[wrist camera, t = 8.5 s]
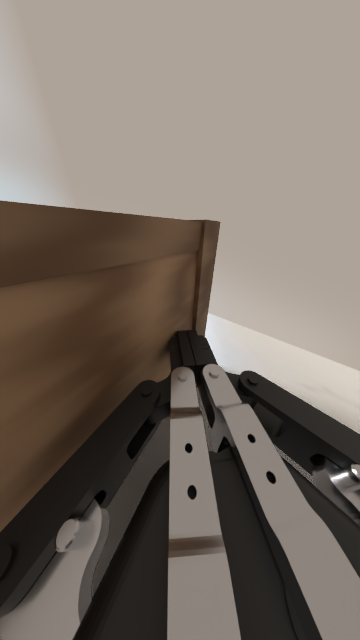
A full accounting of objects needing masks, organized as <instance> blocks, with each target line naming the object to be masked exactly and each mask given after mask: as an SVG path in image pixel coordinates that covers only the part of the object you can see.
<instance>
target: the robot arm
mask: <svg viewBox="0 0 360 640" xmlns="http://www.w3.org/2000/svg"><path fill="white" fill-rule="evenodd" d="M169 354H170V368H171V372H170V374H169V376H168V377H167V378H165V379H164V380H162V381H159V382H155V381H153V380H145V381H143V382H141V383H139V384H138V385H137V386H136V387H135V388H134V389H133V391H132V392H131V393H130V394H129V395H128V396H127V397H126V398H125V399H124V400H123V401H122V402H121V403H120V404H119V406H118V407H117V408H116V409H115V410H114V411H113V412H112V413H111V414H110V415H109V416H108V417H107V418H106V419H105V421H104V422H103V423H102V424H101V425H100V426H99V427H98V428H97V429H96V430H95V431H94V432H93V433H92V434H91V436H90V437H89V438H88V439H87V440H86V441H85V442H84V443H83V444H82V445H81V446H80V447H79V448H78V449H77V450H76V452H75V453H74V454H73V455H72V456H71V457H70V458H69V459H68V460H67V461H66V462H65V463H64V464H63V465H62V467H61V468H60V469H59V470H58V471H57V472H56V473H55V474H54V475H53V476H52V477H51V478H50V479H49V480H48V482H47V483H46V484H45V485H44V486H43V487H42V488H41V489H40V490H39V491H38V492H37V493H36V494H35V495H34V497H33V498H32V499H31V500H30V501H29V502H28V503H27V504H26V505H25V506H24V507H23V508H22V509H21V510H20V512H19V513H18V514H17V515H16V516H15V517H14V518H13V519H12V520H11V521H10V522H9V523H8V524H7V525H6V527H5V528H4V529H3V530H2V531H1V532H0V638H1V640H360V434H358V433H357V432H355V431H353V430H352V429H350V428H348V427H347V426H345V425H343V424H341V423H340V422H338V421H336V420H335V419H333V418H331V417H330V416H328V415H326V414H325V413H323V412H321V411H320V410H318V409H316V408H314V407H313V406H311V405H309V404H308V403H306V402H304V401H303V400H301V399H299V398H298V397H296V396H294V395H293V394H291V393H289V392H288V391H286V390H284V389H282V388H281V387H279V386H277V385H276V384H274V383H272V382H271V381H269V380H267V379H266V378H264V377H262V376H261V375H259V374H257V373H255V372H253V371H244V372H242V373H241V375H236V374H231V373H228V372H225V371H224V370H223V368H221V367H220V366H218V364H217V362H216V359H215V357H214V355H213V353H212V350H211V348H210V346H209V343H208V341H207V339H206V338H205V337H204V336H203V335H198V334H197V331H196V329H195V330H179V331H177V337H171V339H170V341H169ZM197 387H198V389H199V400H200V403H201V406H202V410H203V413H204V416H205V419H206V423H207V426H208V429H209V434H210V442H211V447H212V450H213V452H211V451H208V448H207V441H206V435H205V429H204V423H203V417H202V413H201V411H200V409H199V404H198V398H197V391H196V388H197ZM169 416H170V460H168V461H167V462H166V463H164V464H163V465H162V466H161V467H160V468H159V469H158V471H157V472H156V473H155V475H154V476H153V478H152V479H151V481H150V483H149V485H148V487H147V489H146V491H145V493H144V495H143V497H142V499H141V501H140V503H139V505H138V507H137V509H136V511H135V513H134V515H133V517H132V519H131V521H130V523H129V525H128V527H127V529H126V531H125V533H124V536H123V538H122V540H121V542H120V544H119V546H118V548H117V550H116V552H115V554H114V556H113V558H112V560H111V562H110V564H109V566H108V568H107V570H106V572H105V574H104V576H103V578H102V580H101V582H100V584H99V586H98V588H97V590H96V593H95V595H94V597H93V599H92V601H91V588H92V580H93V575H94V571H95V567H96V564H97V561H98V559H99V557H100V554H101V552H102V550H103V548H104V546H105V543H106V540H107V536H108V532H109V514H108V511H107V509H106V508H107V506H108V505H109V503H110V501H111V500H112V498H113V497H114V495H115V494H116V492H117V490H118V489H119V487H120V486H121V484H122V482H123V481H124V479H125V478H126V476H127V475H128V473H129V471H130V470H131V468H132V467H133V465H134V463H135V462H136V460H137V459H138V457H139V456H140V454H141V452H142V451H143V449H144V448H145V446H146V444H147V443H148V441H149V440H150V438H151V437H152V435H153V433H154V432H155V430H156V429H157V427H158V425H159V424H160V422H161V420H163V419H165V418H167V417H169ZM273 444H274V445H276V446H277V447H278V448H279V449H280V450H282V451H283V452H284V453H285V454H287V455H288V456H289V457H290V458H291V459H293V460H294V461H295V462H296V463H297V464H299V465H300V466H301V467H302V468H304V469H305V470H306V471H307V472H308V473H310V474H311V475H312V476H313V478H314V480H315V481H314V485H315V486H314V485H313V484H312V483H311V482H310V481H309V480H307V479H306V478H305V477H304V476H303V475H302V474H301V473H300V472H298V471H297V470H296V469H295V468H294V467H293V466H292V465H291V464H289V463H288V462H287V461H286V460H285V459H284V458H282V457H281V456H280V455H279V453H278V452H277V450H276V448H275V447H274V445H273Z"/></svg>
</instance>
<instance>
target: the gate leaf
mask: <svg viewBox="0 0 360 640" xmlns="http://www.w3.org/2000/svg"><path fill="white" fill-rule="evenodd" d="M219 228H220V222H218V221H210V220H180V219H171V218H161V217H151V216H142V215H132V214H123V213H113V212H102V211H94V210H84V209H75V208H65V207H55V206H46V205H36V204H27V203H17V202H8V201H0V532H1V531H2V530H3V529H4V528H5V527H6V525H7V524H8V523H9V522H10V521H11V520H12V519H13V518H14V517H15V516H16V515H17V514H18V513H19V512H20V510H21V509H22V508H23V507H24V506H25V505H26V504H27V503H28V502H29V501H30V500H31V499H32V498H33V497H34V495H35V494H36V493H37V492H38V491H39V490H40V489H41V488H42V487H43V486H44V485H45V484H46V483H47V482H48V480H49V479H50V478H51V477H52V476H53V475H54V474H55V473H56V472H57V471H58V470H59V469H60V468H61V467H62V465H63V464H64V463H65V462H66V461H67V460H68V459H69V458H70V457H71V456H72V455H73V454H74V453H75V452H76V450H77V449H78V448H79V447H80V446H81V445H82V444H83V443H84V442H85V441H86V440H87V439H88V438H89V437H90V436H91V434H92V433H93V432H94V431H95V430H96V429H97V428H98V427H99V426H100V425H101V424H102V423H103V422H104V421H105V419H106V418H107V417H108V416H109V415H110V414H111V413H112V412H113V411H114V410H115V409H116V408H117V407H118V406H119V404H120V403H121V402H122V401H123V400H124V399H125V398H126V397H127V396H128V395H129V394H130V393H131V392H132V391H133V389H134V388H135V387H136V386H137V385H138V384H139V383H141V382H143V381H145V380H153V381H155V382H159V381H162V380H164V379H165V378H167V377H168V376H169V374H170V372H171V368H170V354H169V341H170V339H171V337H177V331H179V330H195V329H196V331H197V334H198V335H203V336H204V337H205V329H206V322H207V315H208V308H209V300H210V293H211V286H212V279H213V271H214V264H215V257H216V249H217V242H218V235H219Z"/></svg>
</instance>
